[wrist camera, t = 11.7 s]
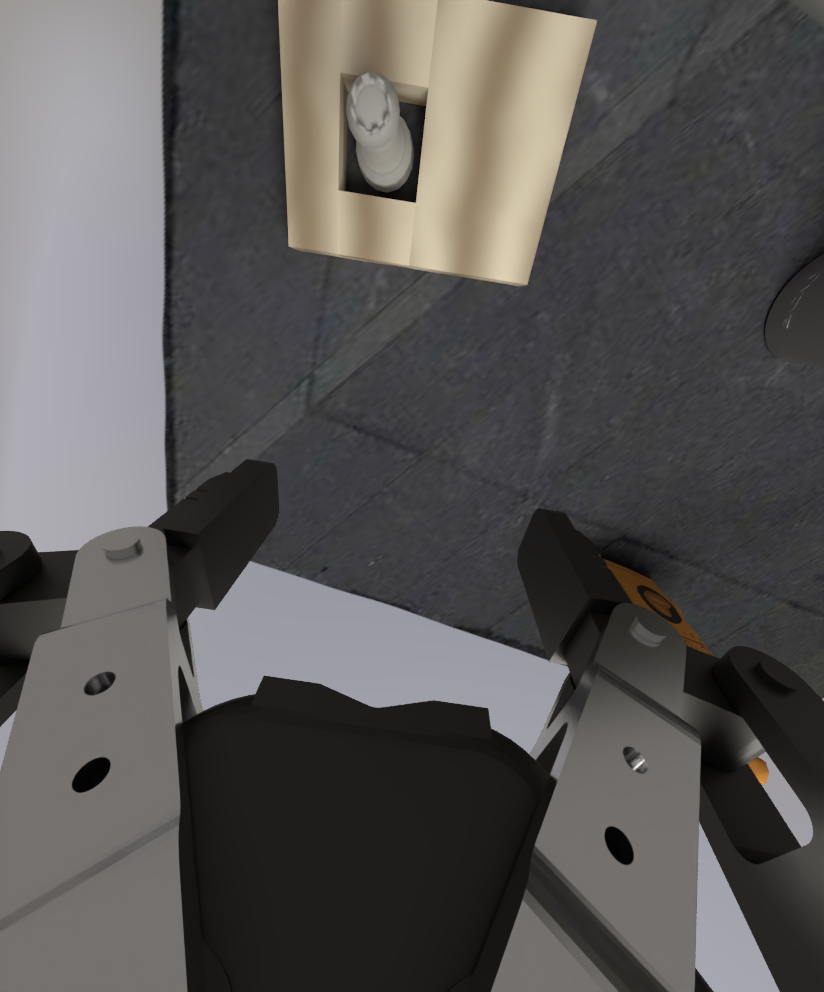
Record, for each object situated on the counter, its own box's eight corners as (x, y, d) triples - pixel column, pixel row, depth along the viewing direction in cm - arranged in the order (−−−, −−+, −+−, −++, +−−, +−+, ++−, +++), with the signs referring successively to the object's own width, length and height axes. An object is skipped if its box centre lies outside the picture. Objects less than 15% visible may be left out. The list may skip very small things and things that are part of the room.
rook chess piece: (346, 158, 26) (316, 106, 19) (384, 97, 24) (365, 16, 17) (388, 209, 28) (374, 177, 21) (426, 155, 26) (425, 100, 19)
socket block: (581, 47, 23) (597, 20, 21) (520, 286, 30) (527, 284, 28) (291, -6, 22) (276, -39, 20) (299, 250, 29) (288, 246, 27)
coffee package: (596, 539, 43) (724, 722, 24) (661, 577, 46) (823, 769, 27) (544, 585, 48) (618, 769, 29) (606, 617, 51) (711, 805, 32)
